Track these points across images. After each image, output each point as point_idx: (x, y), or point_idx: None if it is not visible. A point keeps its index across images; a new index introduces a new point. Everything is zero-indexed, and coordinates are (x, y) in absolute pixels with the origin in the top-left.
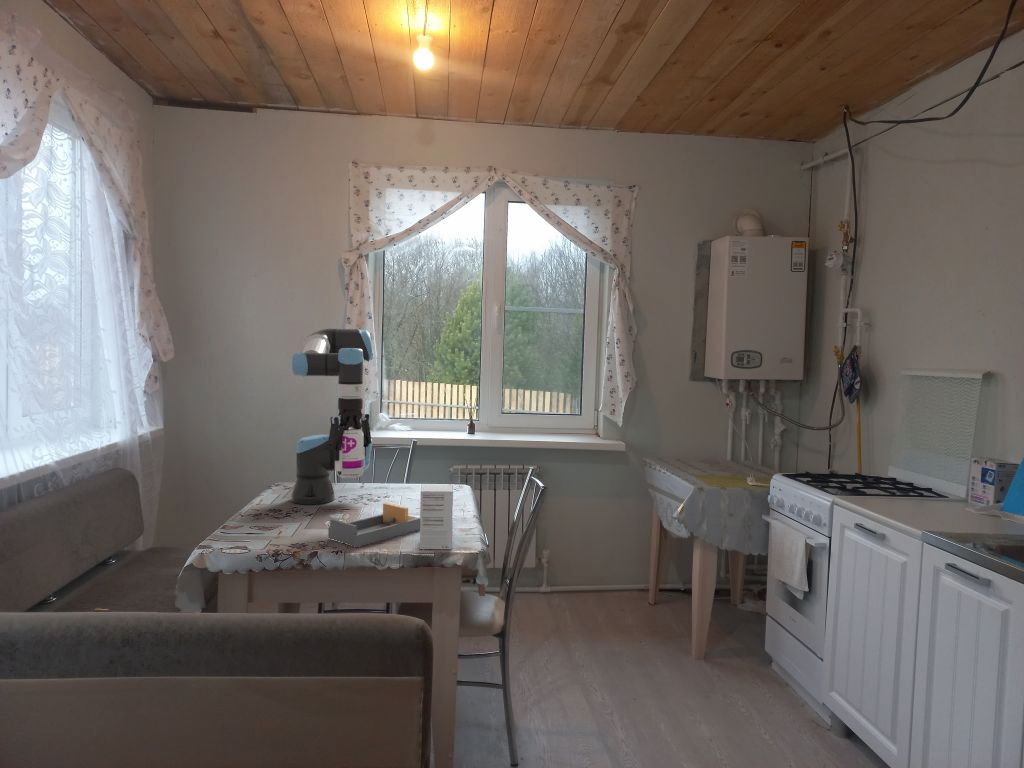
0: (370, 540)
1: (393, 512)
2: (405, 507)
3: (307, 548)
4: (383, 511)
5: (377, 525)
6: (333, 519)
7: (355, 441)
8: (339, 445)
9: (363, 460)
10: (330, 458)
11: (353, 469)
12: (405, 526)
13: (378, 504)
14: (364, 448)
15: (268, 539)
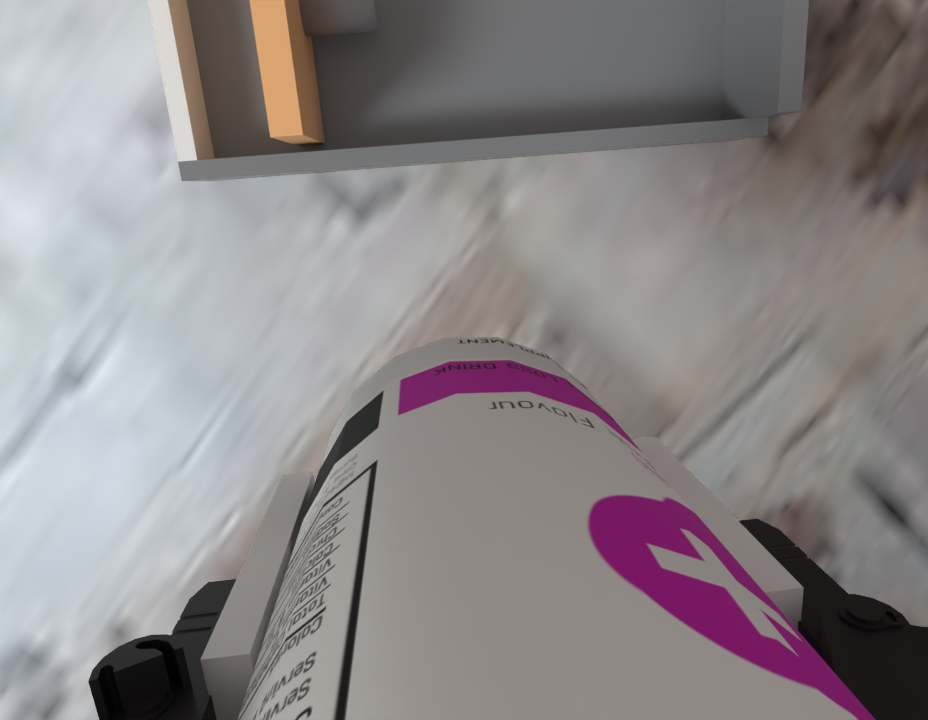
0: None
1: (294, 5)
2: None
3: (909, 71)
4: (312, 132)
5: (385, 123)
6: (784, 97)
7: (644, 575)
8: (895, 667)
9: (284, 518)
10: None
11: (535, 366)
12: None
13: (58, 589)
14: (215, 640)
15: (913, 362)
